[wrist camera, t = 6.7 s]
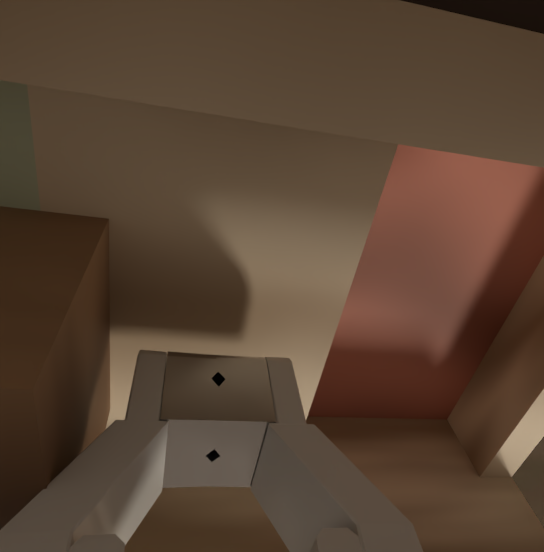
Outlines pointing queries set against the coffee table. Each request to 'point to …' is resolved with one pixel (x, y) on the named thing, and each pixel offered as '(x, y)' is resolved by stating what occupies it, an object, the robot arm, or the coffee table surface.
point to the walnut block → (50, 347)
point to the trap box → (309, 229)
